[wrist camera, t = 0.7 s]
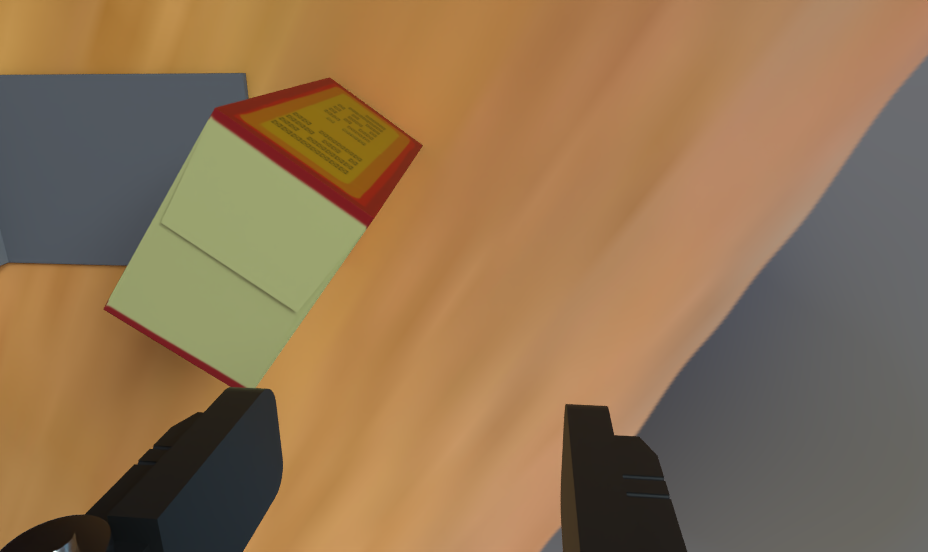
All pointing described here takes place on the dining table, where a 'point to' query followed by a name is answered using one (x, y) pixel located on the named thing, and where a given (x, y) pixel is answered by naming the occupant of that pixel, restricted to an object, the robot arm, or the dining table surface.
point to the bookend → (95, 158)
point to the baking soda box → (260, 225)
